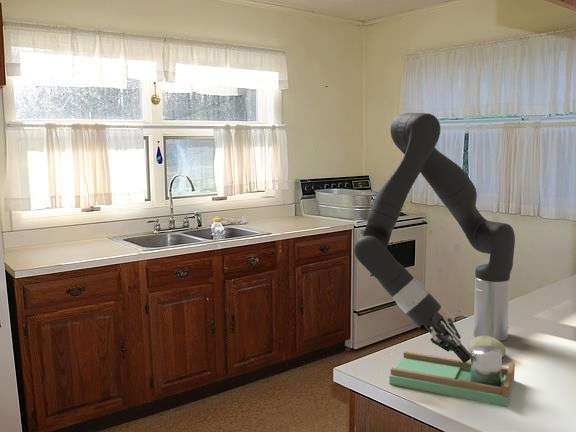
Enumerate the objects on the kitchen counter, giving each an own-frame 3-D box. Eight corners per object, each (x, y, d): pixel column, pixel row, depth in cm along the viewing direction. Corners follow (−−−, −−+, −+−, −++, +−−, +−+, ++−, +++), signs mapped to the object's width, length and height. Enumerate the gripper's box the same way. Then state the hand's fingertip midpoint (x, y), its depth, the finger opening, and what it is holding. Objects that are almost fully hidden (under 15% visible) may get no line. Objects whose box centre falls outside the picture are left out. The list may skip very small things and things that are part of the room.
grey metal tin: (472, 374, 130) (473, 343, 129) (502, 379, 127) (503, 348, 126) (468, 385, 124) (469, 353, 123) (499, 390, 121) (500, 358, 120)
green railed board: (405, 361, 142) (405, 345, 141) (514, 380, 130) (514, 362, 129) (389, 383, 129) (389, 365, 129) (507, 406, 117) (508, 387, 117)
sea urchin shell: (495, 340, 150) (504, 327, 144) (502, 368, 145) (513, 356, 139) (462, 341, 150) (470, 328, 143) (468, 369, 145) (477, 357, 139)
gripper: (420, 300, 123) (476, 361, 119) (434, 285, 135) (485, 340, 131) (397, 319, 127) (450, 379, 123) (412, 303, 138) (461, 358, 134)
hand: (468, 359), depth 127 cm, fingers closed
